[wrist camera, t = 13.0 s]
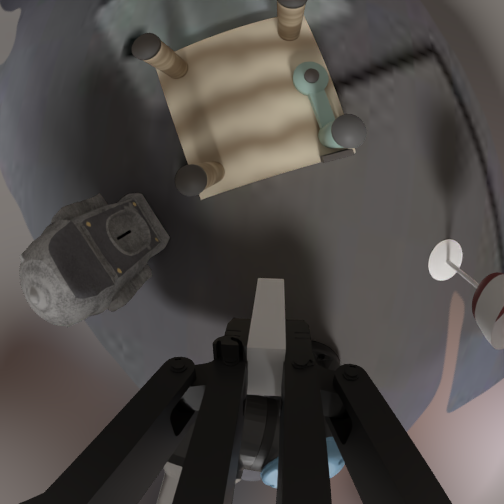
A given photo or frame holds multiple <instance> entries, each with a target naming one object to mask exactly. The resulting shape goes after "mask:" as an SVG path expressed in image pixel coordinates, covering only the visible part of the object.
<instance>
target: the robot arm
mask: <svg viewBox="0 0 504 504" xmlns="http://www.w3.org/2000/svg"><path fill="white" fill-rule="evenodd" d="M213 354H214V360H213V361H212V362H209V363H206V364H199V365H194V363H193V361H192V360H190V359H188V358H185V357H174V358H172V359H169V360H168V361H166V362H165V363H164V364H163V365H162V366H161V367H160V369H159V370H158V371H157V372H156V373H155V374H154V375H153V376H152V377H151V378H150V379H149V381H148V382H147V383H146V384H145V385H144V386H143V387H142V388H141V389H140V390H139V391H138V393H137V394H136V395H135V396H134V397H133V398H132V399H131V400H130V402H128V403H127V405H126V406H125V407H124V408H123V409H122V410H121V411H120V412H119V413H118V414H117V415H116V416H115V418H114V419H113V420H112V421H111V422H110V423H109V424H108V425H107V426H106V427H105V428H104V429H103V431H102V432H101V433H100V434H99V435H98V436H97V437H96V438H95V439H94V440H93V441H92V442H91V444H90V445H89V446H88V447H87V448H86V449H85V450H84V451H83V452H82V453H81V454H80V455H79V456H78V457H77V458H76V459H75V461H74V462H73V463H72V464H71V465H70V466H69V467H68V468H67V469H66V470H65V471H64V472H63V473H62V474H61V476H59V478H58V479H57V480H56V481H55V482H54V483H53V484H52V485H51V486H50V487H49V488H48V489H47V490H46V491H45V492H44V493H43V494H40V495H38V496H36V497H34V498H31V499H29V500H27V501H24V502H22V503H19V504H137V503H138V502H139V501H140V500H141V498H142V497H143V495H144V494H145V493H146V491H147V490H148V488H149V487H150V486H151V484H152V483H153V481H154V480H155V478H156V477H157V475H158V474H159V473H160V471H161V470H162V469H163V468H164V470H165V475H164V479H163V482H162V486H161V490H160V493H159V497H158V500H157V504H232V501H233V494H234V488H235V483H237V482H239V481H240V480H241V477H242V473H243V470H244V469H247V470H253V471H259V472H261V478H262V480H263V482H264V483H265V484H266V485H270V486H271V487H274V488H277V497H276V504H332V503H331V489H330V478H331V477H333V476H335V475H336V474H337V473H338V472H339V471H340V470H341V469H342V468H343V466H344V464H345V465H346V467H347V469H348V471H349V473H350V476H351V478H352V480H353V482H354V485H355V487H356V489H357V491H358V493H359V495H360V498H361V500H362V502H363V504H452V503H451V501H450V500H449V498H448V496H447V495H446V493H445V492H444V490H443V488H442V487H441V485H440V483H439V482H438V480H437V479H436V478H435V476H434V474H433V472H432V471H431V469H430V468H429V466H428V465H427V463H426V461H425V460H424V458H423V457H422V455H421V454H420V452H419V451H418V449H417V448H416V446H415V444H414V443H413V441H412V440H411V439H410V437H409V436H408V434H407V432H406V431H405V429H404V428H403V426H402V425H401V423H400V422H399V420H398V419H397V417H396V416H395V414H394V413H393V411H392V410H391V408H390V407H389V405H388V404H387V402H386V401H385V399H384V398H383V396H382V395H381V393H380V392H379V390H378V389H377V387H376V386H375V384H374V383H373V381H372V380H371V379H370V377H369V376H368V374H367V373H366V371H365V370H364V369H363V368H361V367H359V366H357V365H353V364H344V365H342V366H340V362H339V359H338V357H337V355H336V354H335V352H334V351H333V350H332V349H330V348H329V347H327V346H325V345H323V344H321V343H318V342H314V341H311V339H310V331H309V326H308V325H307V323H306V322H305V321H304V320H285V295H284V279H270V278H258V282H257V288H256V294H255V301H254V307H253V313H252V319H239V318H233V319H232V320H231V321H230V322H229V323H228V325H227V328H226V332H225V336H222V337H219V338H217V339H216V340H215V341H214V342H213ZM260 395H264V396H265V397H264V396H260Z"/></svg>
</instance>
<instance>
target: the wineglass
mask: <svg viewBox="0 0 504 504" xmlns="http://www.w3.org/2000/svg"><path fill="white" fill-rule="evenodd" d="M461 262H462V249H461V247H460V245H459V243H458V242H456V241H455V240H451V239H447V240H443V241H442V242H440V243H438V244H437V245H436V247H435V248H434V249H433V251H432V252H431V254H430V258H429V262H428V268H429V272H430V274H431V275H432V277H433V278H435V279H436V280H441V281H443V280H447V279H449V278H451V277H452V276H453V275H454V274H455V273H456V272H458V273H459V274H460V275H461V276H462V277H464V278H465V279H466V280H467V281H468V282H470V283H471V284H472V285H473V286H474V287H475V288H476V291H475V294H474V297H473V301H472V312H473V315H474V318H475V320H476V322H477V324H478V326H479V328H480V329H481V331H482V333H483V334H484V336H485V337H486V339H487V340H488V341H489V343H490V344H491V345H492V346H493V347H494V348H495V349H497V350H500V349H504V274H503V273H492V274H490V275H488V276H487V277H486V278H484V279H483V280H482V281H481V283H480V284H478V283H477V282H476V281H475V280H474V279H472V278H471V277H470V276H469V275H467V274H466V273H465V272H464V271H462V270H461V269H460V268H459V267H460V265H461Z"/></svg>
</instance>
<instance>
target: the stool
mask: <svg viewBox="0 0 504 504" xmlns="http://www.w3.org/2000/svg"><path fill="white" fill-rule="evenodd" d="M306 2H307V0H277V17H274V18H270V19H266V20H262V21H258V22H255V23H251V24H248V25H245V26H241V27H238V28H235V29H232V30H229V31H226V32H223V33H220V34H217V35H215V36H212V37H209V38H206V39H204V40H201V41H199V42H196V43H194V44H191V45H189V46H186V47H184V48H182V49H179V50H177V51H175V52H174V51H173V50H172V49H170V48H169V47H168V46H167V45H166V44H164V43H163V42H162V41H161V40H160V38H159V37H157V36H156V35H155V34H153V33H146V34H143V35H141V36H139V37H138V38H137V39H136V40H135V41H134V43H133V45H132V54H133V55H134V56H135V57H136V58H138V59H140V60H143V61H145V62H147V63H148V64H150V65H152V66H153V67H155V68H156V71H157V74H158V77H159V80H160V83H161V86H162V89H163V92H164V95H165V98H166V101H167V104H168V107H169V110H170V113H171V116H172V119H173V122H174V125H175V128H176V131H177V134H178V137H179V140H180V142H181V145H182V148H183V151H184V154H185V157H186V160H187V162H188V165H185V166H183V167H181V168H180V169H179V170H178V172H177V173H176V176H175V185H176V188H177V189H178V191H179V192H180V193H181V194H183V195H185V196H196V195H198V194H199V196H200V199H201V200H202V199H205V198H207V197H210V196H213V195H216V194H219V193H222V192H225V191H228V190H231V189H234V188H237V187H240V186H243V185H246V184H249V183H252V182H255V181H259V180H262V179H265V178H268V177H271V176H275V175H278V174H281V173H285V172H288V171H291V170H295V169H298V168H302V167H305V166H309V165H312V164H316V163H319V162H323V163H326V162H330V161H333V160H337V159H341V158H345V157H348V156H352V155H354V153H356V152H355V148H327V147H325V146H323V145H322V144H321V142H320V141H319V138H318V133H319V130H320V127H319V125H318V122H317V119H316V116H315V114H314V111H313V108H312V106H311V103H310V100H309V98H308V96H306V95H303V94H301V93H300V92H298V91H297V90H296V88H295V87H294V84H293V74H294V71H295V69H296V67H297V66H298V65H300V64H301V63H304V62H315V63H318V64H320V65H321V66H323V67H324V68H325V70H326V71H327V73H328V77H329V80H328V84H327V86H326V88H325V89H324V90H325V93H326V95H327V98H328V101H329V103H330V106H331V109H332V111H333V114H334V117H335V119H336V118H338V117H339V116H341V115H344V113H343V110H342V107H341V104H340V102H339V99H338V96H337V93H336V90H335V88H334V85H333V82H332V80H331V77H330V75H329V72H328V70H327V67H326V65H325V62H324V60H323V57H322V55H321V52H320V50H319V48H318V45H317V43H316V41H315V39H314V36H313V34H312V32H311V30H310V28H309V25H308V23H307V21H306V19H305V17H304V15H303V14H304V9H305V4H306ZM304 78H305V80H306V81H307V82H308V83H315V82H317V81H318V79H319V72H318V71H317V70H316V69H313V68H310V69H307V70H306V71H305V74H304Z"/></svg>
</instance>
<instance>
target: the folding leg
mask: <svg viewBox="0 0 504 504" xmlns="http://www.w3.org/2000/svg"><path fill="white" fill-rule="evenodd" d="M310 68H313V69H316V70H317V71H318V72H319V79H318V81H317V82H315V83H308V82H307V81H306V80H305V78H304V74H305V71H306V70H307V69H310ZM328 80H329V77H328V73H327V71H326V70H325V68H324V67H323V66H321V65H320V64H318V63H315V62H304V63H301V64H300V65H298V66H297V67H296V69H295V71H294V74H293V84H294V87H295V88H296V90H297V91H298V92H300V93H301V94H303V95H306V96H308V98H309V100H310V103H311V106H312V108H313V111H314V114H315V116H316V119H317V122H318V125H319V127H320V130H319V133H318V138H319V141H320V142H321V144H322V145H323V146H325V147H327V148H356V147H358V146H360V145H361V144H362V143H363V142H364V140H365V138H366V127H365V124H364V123H363V121H362V120H361V119H360V118H359V117H357V116H355V115H352V114H344V115H341V116H339V117H338V118H336V119H335V117H334V114H333V111H332V109H331V106H330V103H329V101H328V98H327V95H326V93H325V90H324V89H325V88H326V86H327V84H328Z"/></svg>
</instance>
